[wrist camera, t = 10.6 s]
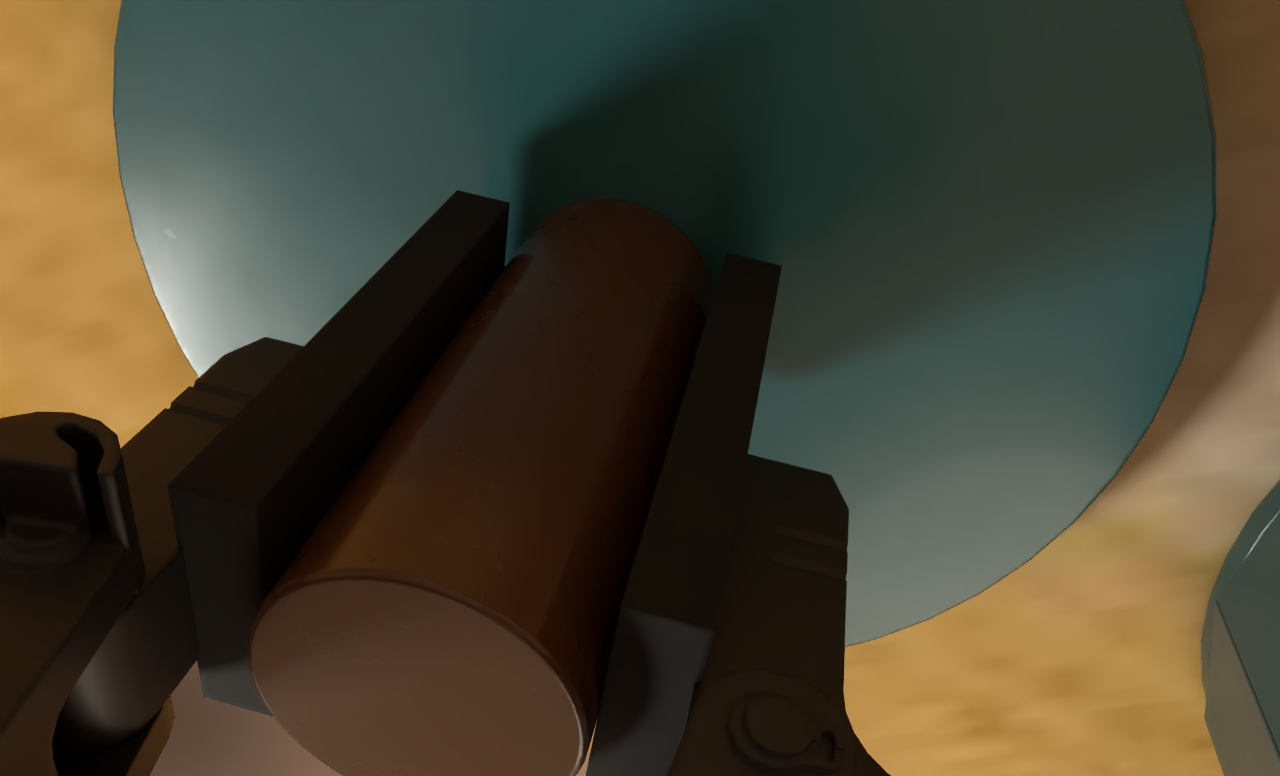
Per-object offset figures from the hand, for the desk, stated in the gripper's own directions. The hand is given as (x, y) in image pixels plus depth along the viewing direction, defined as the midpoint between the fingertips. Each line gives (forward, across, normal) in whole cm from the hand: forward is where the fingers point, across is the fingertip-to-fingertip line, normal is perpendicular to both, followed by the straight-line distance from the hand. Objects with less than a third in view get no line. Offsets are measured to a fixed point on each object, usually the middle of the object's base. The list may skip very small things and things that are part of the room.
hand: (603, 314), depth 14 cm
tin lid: (+1, 0, 0) cm, 1 cm away
